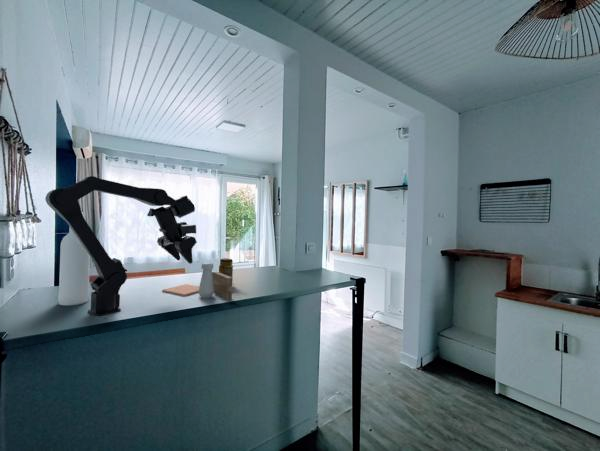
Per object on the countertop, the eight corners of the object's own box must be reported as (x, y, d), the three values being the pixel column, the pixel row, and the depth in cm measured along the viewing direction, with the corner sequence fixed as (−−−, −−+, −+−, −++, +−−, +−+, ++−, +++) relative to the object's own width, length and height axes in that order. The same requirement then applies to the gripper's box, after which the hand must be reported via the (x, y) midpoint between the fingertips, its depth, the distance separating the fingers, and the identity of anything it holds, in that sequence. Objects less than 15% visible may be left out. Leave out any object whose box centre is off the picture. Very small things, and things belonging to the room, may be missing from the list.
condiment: (233, 284, 131) (234, 258, 130) (232, 288, 122) (234, 260, 122) (216, 284, 129) (217, 257, 129) (215, 288, 121) (216, 260, 121)
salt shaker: (209, 299, 104) (210, 264, 104) (194, 298, 105) (196, 263, 105) (216, 295, 110) (218, 262, 109) (203, 294, 111) (204, 261, 111)
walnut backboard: (226, 299, 105) (227, 278, 105) (211, 291, 116) (211, 271, 116) (231, 298, 107) (232, 277, 106) (215, 290, 117) (216, 271, 117)
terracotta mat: (184, 296, 107) (184, 294, 107) (162, 291, 112) (162, 289, 112) (207, 290, 117) (207, 288, 117) (186, 285, 123) (186, 284, 123)
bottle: (64, 299, 96) (66, 211, 96) (91, 298, 99) (94, 212, 99) (53, 306, 89) (56, 211, 88) (84, 305, 92) (87, 212, 91)
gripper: (201, 214, 99) (216, 253, 104) (176, 213, 111) (191, 248, 117) (172, 228, 92) (190, 269, 97) (149, 225, 104) (166, 262, 109)
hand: (185, 261), depth 105 cm, fingers open, 9 cm apart
